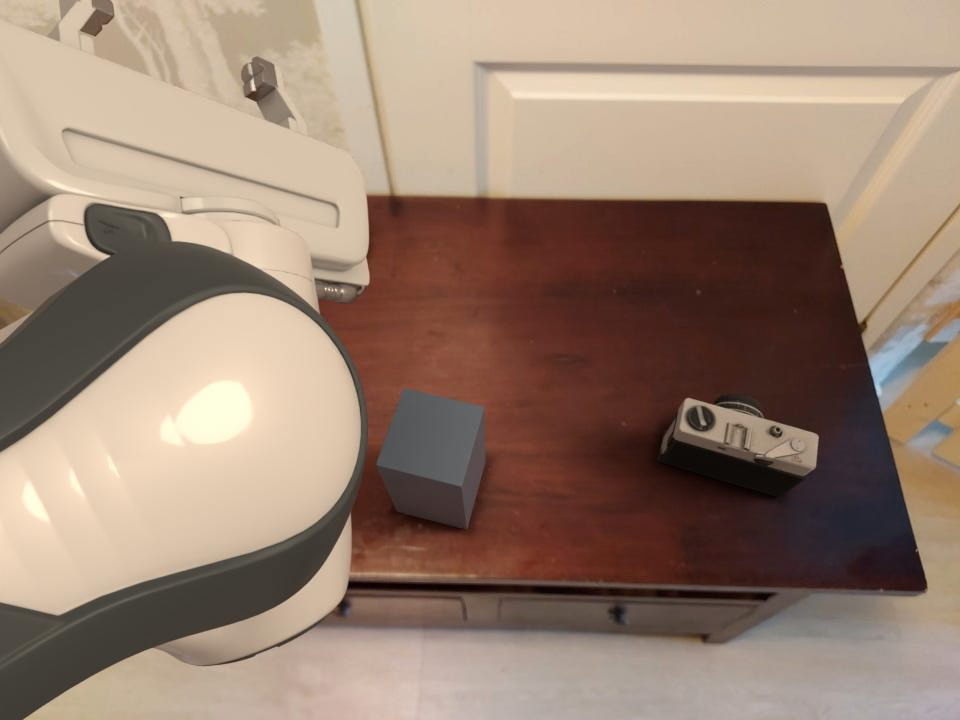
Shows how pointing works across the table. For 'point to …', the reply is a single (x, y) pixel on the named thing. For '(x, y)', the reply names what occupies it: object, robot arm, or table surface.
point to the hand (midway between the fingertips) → (182, 29)
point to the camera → (738, 445)
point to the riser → (434, 457)
